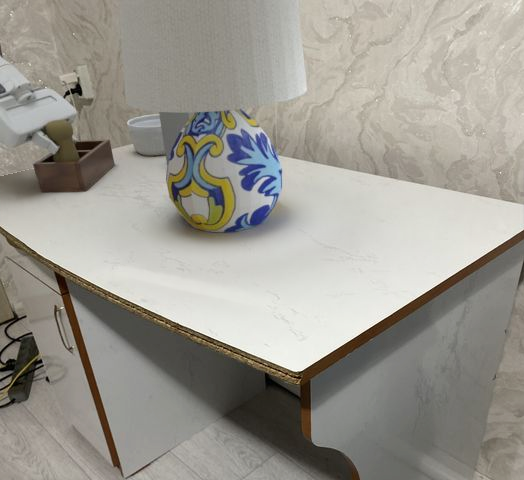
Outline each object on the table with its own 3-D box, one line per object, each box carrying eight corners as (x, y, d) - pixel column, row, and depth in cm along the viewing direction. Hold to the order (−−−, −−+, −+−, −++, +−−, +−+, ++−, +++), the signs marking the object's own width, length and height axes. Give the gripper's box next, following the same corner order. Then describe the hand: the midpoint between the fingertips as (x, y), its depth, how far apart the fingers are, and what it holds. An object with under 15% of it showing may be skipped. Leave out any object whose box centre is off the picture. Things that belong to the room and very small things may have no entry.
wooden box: (41, 192, 108) (32, 164, 105) (75, 166, 123) (68, 140, 120) (86, 191, 107) (78, 162, 104) (115, 165, 122) (109, 139, 119)
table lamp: (332, 199, 95) (338, -89, 73) (260, 261, 76) (238, -105, 53) (205, 184, 107) (176, -70, 84) (114, 234, 87) (44, -78, 65)
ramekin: (189, 153, 127) (185, 122, 123) (133, 160, 124) (127, 128, 120) (183, 140, 137) (179, 111, 133) (131, 146, 135) (125, 117, 131)
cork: (76, 171, 114) (63, 116, 108) (91, 176, 111) (78, 119, 105) (50, 178, 111) (35, 122, 105) (65, 183, 107) (50, 125, 101)
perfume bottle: (195, 169, 116) (184, 77, 105) (167, 168, 118) (153, 77, 107) (208, 160, 121) (198, 71, 110) (181, 159, 123) (168, 71, 112)
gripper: (38, 96, 114) (88, 145, 117) (-33, 118, 99) (27, 173, 101) (49, 73, 111) (101, 123, 113) (-22, 91, 95) (40, 150, 98)
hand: (66, 147), depth 107 cm, fingers closed on cork, 4 cm apart
